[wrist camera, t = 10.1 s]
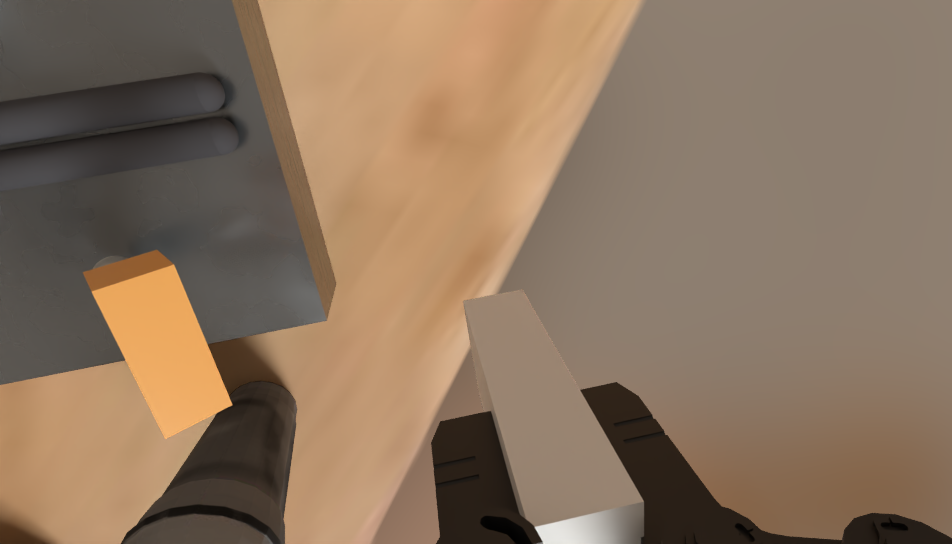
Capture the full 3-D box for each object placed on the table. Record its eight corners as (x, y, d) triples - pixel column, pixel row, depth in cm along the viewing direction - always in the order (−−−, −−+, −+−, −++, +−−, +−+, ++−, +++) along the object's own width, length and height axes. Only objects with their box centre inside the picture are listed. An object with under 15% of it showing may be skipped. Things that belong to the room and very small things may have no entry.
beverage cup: (220, 349, 31) (-17, 738, 13) (332, 380, 34) (263, 753, 15) (191, 437, 33) (-49, 880, 15) (298, 462, 36) (201, 876, 17)
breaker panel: (32, 341, 29) (-35, 391, 25) (-229, -108, 21) (-405, -159, 16) (336, 283, 31) (326, 320, 26) (214, -156, 22) (168, -214, 18)
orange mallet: (111, 327, 23) (165, 439, 15) (61, 227, 21) (91, 291, 13) (158, 310, 24) (232, 405, 16) (115, 213, 22) (174, 264, 14)
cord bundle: (-123, 209, 21) (-161, 220, 20) (-176, 128, 20) (-221, 133, 18) (247, 149, 23) (238, 154, 21) (222, 69, 21) (210, 69, 20)
